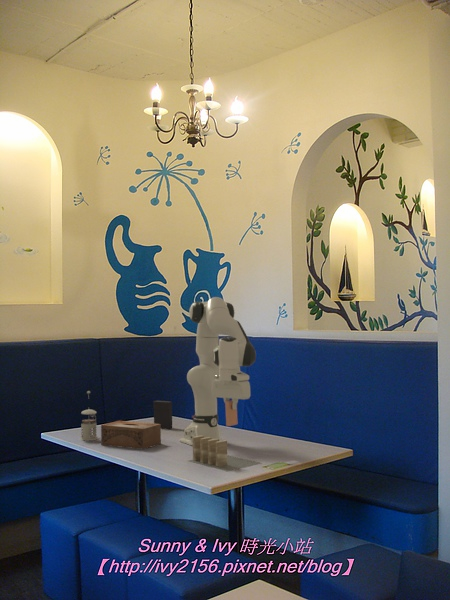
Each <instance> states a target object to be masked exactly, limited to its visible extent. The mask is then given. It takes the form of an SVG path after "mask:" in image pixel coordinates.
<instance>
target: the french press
mask: <svg viewBox="0 0 450 600" xmlns="http://www.w3.org/2000/svg"><path fill="white" fill-rule="evenodd" d="M86 394H87V395H88V398H90V394H91V391H90V390H88V391H86ZM80 414H81V415H88V416H89V417H91V418H88V419H87V418H86V419H82V420H81V424H80V425H81V426H80V427H81V428H80V429H81V436H80V438H79V441H82V440H85V441H86V442H90V441H89V440H91V441H97V440H99V439H98V438H99V437H98V436H97V416H96V414H97V411H96V410H95V409H90V408H88V409H85V410H82V411H81V413H80ZM94 418H95V419H94ZM96 439H97V440H96ZM85 441H84V442H85Z"/></svg>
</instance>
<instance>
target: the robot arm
mask: <svg viewBox="0 0 450 600" xmlns="http://www.w3.org/2000/svg"><path fill="white" fill-rule="evenodd" d="M235 313H236V312H235V307H234V305H233V304H232V303H231V302H230V303H229V302H226V301H225V300H224V298H221V297H220V296H219V297H218V296H213V297H211V298H209V299H208V300H207V301H200V300H199V301H195V302H194V301H193V302H192V304H190V307H189V313H188V315H189V318H190V320H191V322H193V323H196V324H197V327H196V328H197V329H196V342H195V343H196V344H195V353H196V355H197V356H198V360H199V365H196V366H193V367H192V368H191V369H189V370H188V372H187V374H186V380H187V383H188V385H190V387H191V389H192V392H193V398H194V415H192V416H191V418H193V419H192V422H191V423H190V424H189V425H188V426H186V428H184V431H183V437H181V438H179V439H178V441H179V442H180V443H183V444H187V445H189V446H192V447H193V437H196V436H204V438H206V437H211V438H212V439H219V441H222V438H221V433H220V425H219V424H218V423H219V414H218V398H221V399H223V402H224V403H225V401H233V404H232V405H231V409H233V410H235V409H236V405H237V406H238V403H239V400H249V399H251V398H250V397H251V383H250V381H249V380H250V374H249V375H248V374H247V373H245V372H244V371H241V367H248V368H249V367H251V366H253V364H254V363H255V362H256V359H257V353H256V349H255V346H254V345H253V344H252V343H251V341H250V339H249V337H248V335H247V334H246V331H245V330H244V328H243V326H242V324H241V323H240V321H238V320H236V319H235ZM219 335H222V336H224V337H219ZM230 399H231V400H230Z"/></svg>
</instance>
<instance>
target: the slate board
mask: <svg viewBox="0 0 450 600" xmlns="http://www.w3.org/2000/svg"><path fill="white" fill-rule="evenodd" d="M188 462H190V463H194V464H196V465H197V464H198V465H201V466H205V467H208V468H213V469H217V470H220V471H225V472H230V471H234V470H235V471H236V470H239V469H243V468H248V467H253V466H256V465H262V462H259V461H257V460H256V461H255V460H251V459H246V458H242V457H239V456H238V457H237V456H234V455H229V454H227V464H228V465H224V466H220V467H217V466H216V464H212V465H209V464H208V462H205V463H202V462H201V461H200V460H198V461H194V460H193V459H190V460H188Z"/></svg>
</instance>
